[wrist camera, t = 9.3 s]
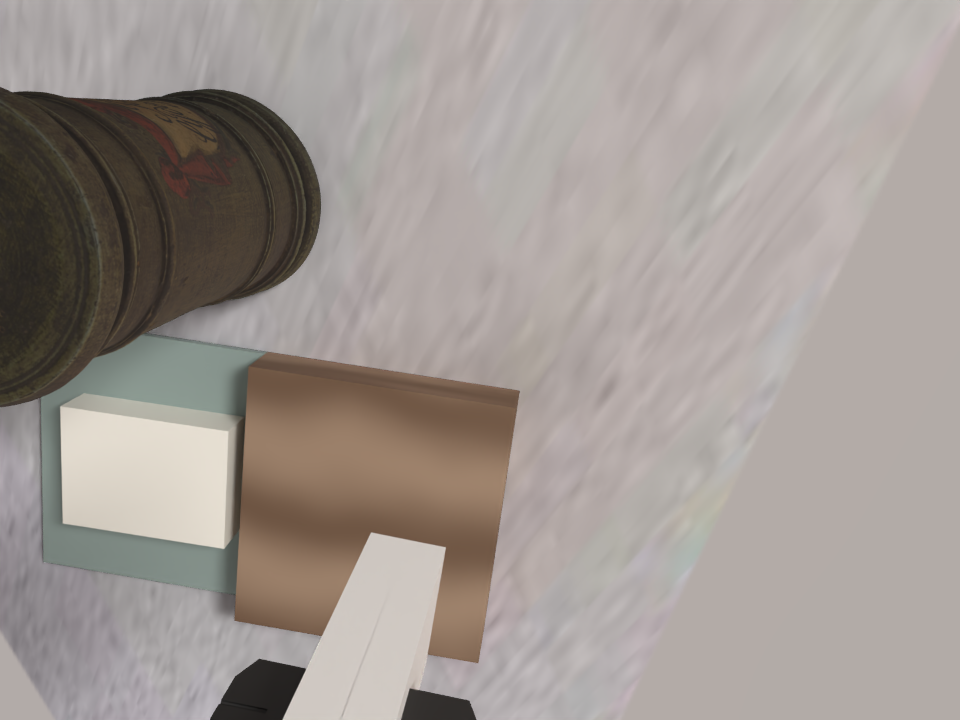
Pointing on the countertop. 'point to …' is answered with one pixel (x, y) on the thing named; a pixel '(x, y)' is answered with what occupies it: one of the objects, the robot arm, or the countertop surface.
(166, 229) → the container
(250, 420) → the board
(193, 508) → the block
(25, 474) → the countertop surface
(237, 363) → the mat
